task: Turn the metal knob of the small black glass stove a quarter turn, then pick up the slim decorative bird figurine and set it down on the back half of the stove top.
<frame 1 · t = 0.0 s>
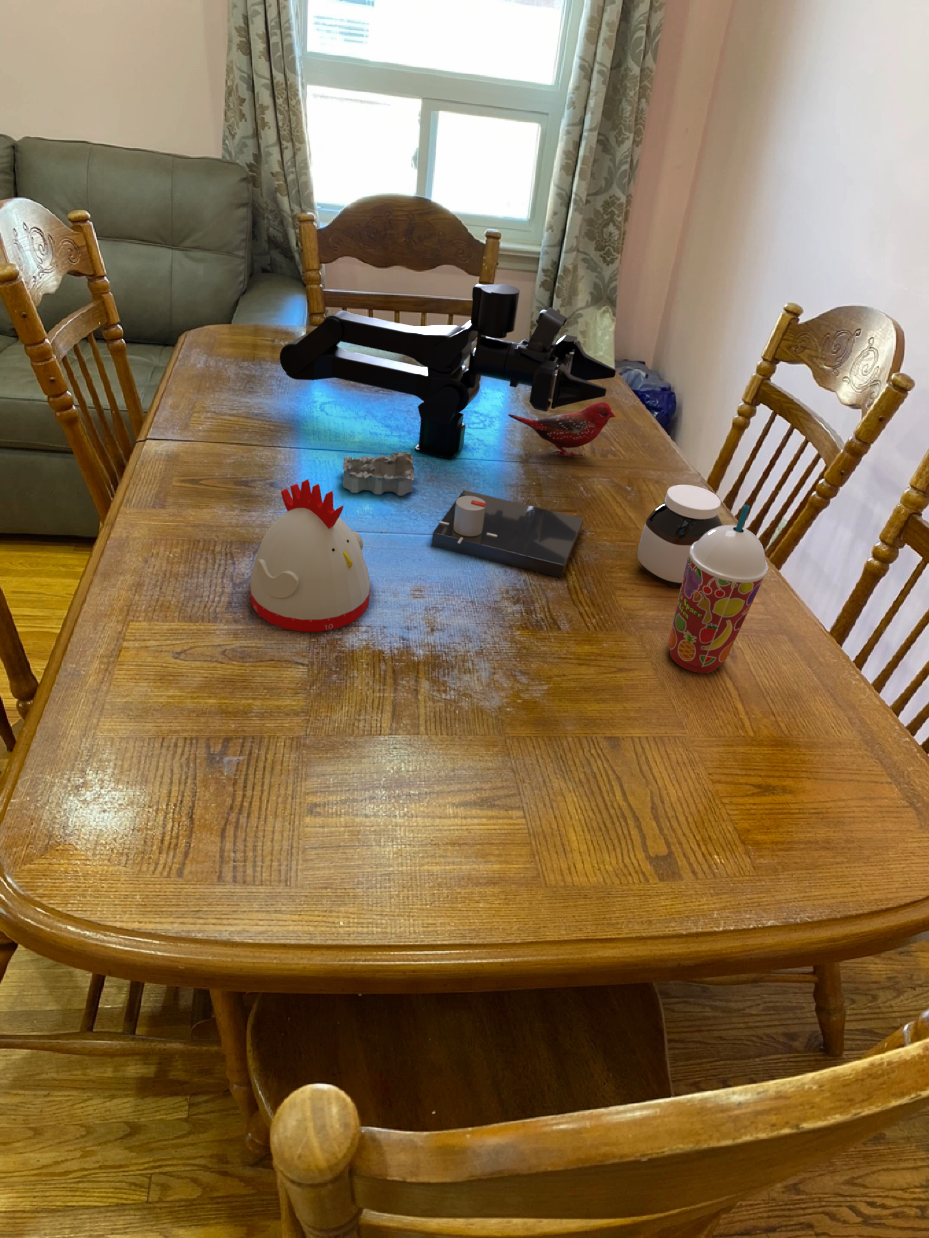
hand: (610, 382, 122), 17 cm above the table, tool horizontal, fingers open, 9 cm apart
smoothie: (693, 659, 96), on the table
kitchen timer: (310, 598, 98), on the table
spread jar: (667, 567, 113), on the table
decorative bird figurine: (554, 456, 139), on the table
stove: (508, 537, 114), on the table
stove knob: (469, 515, 110), point 4 cm above the table, hinge at 0.0°
egg carton: (377, 485, 123), on the table
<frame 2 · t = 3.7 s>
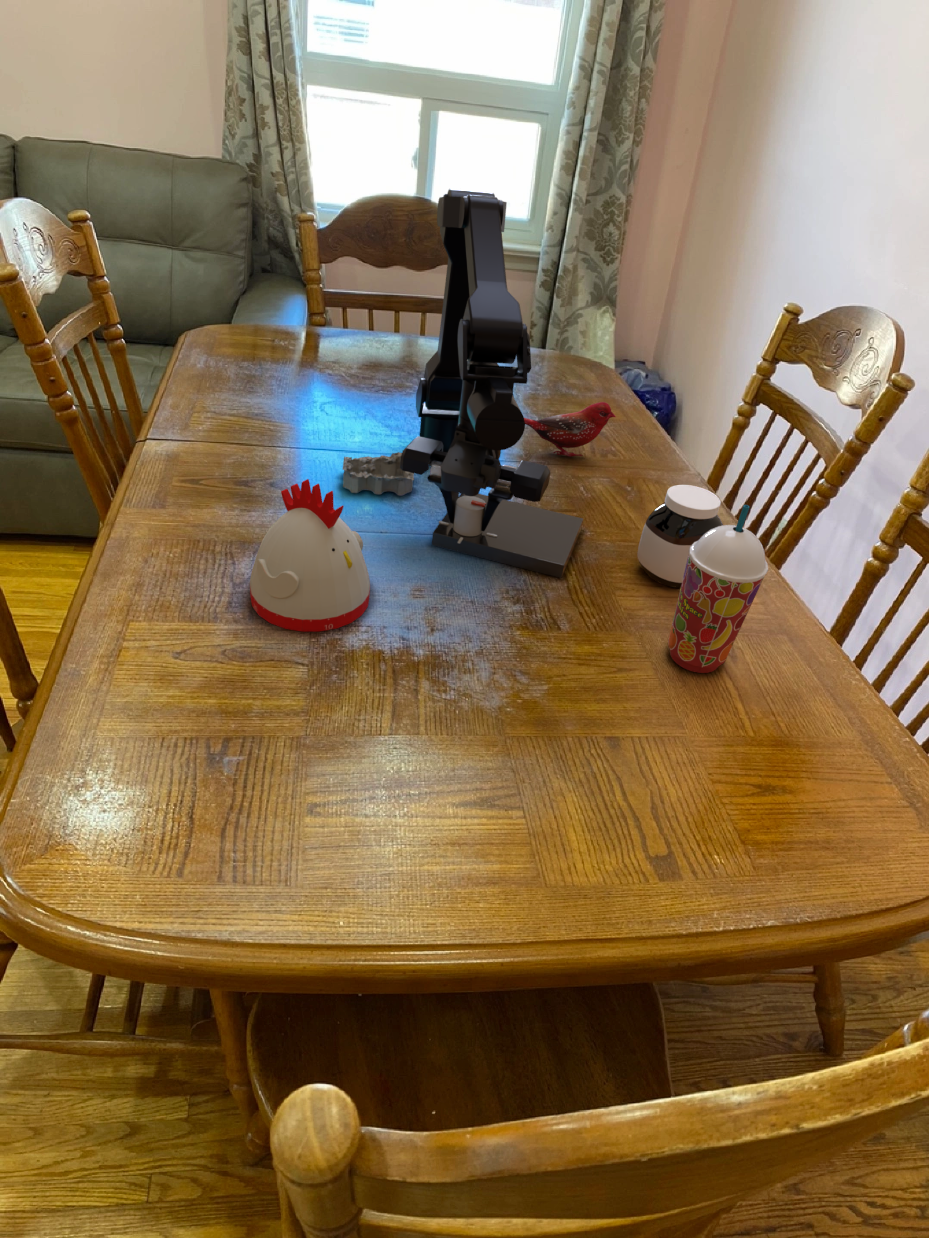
hand: (468, 526, 110), 3 cm above the table, tool pointing down, fingers closed on stove knob, 4 cm apart
stove knob: (469, 515, 110), point 4 cm above the table, hinge at 0.0°, touching gripper
everything else where it was.
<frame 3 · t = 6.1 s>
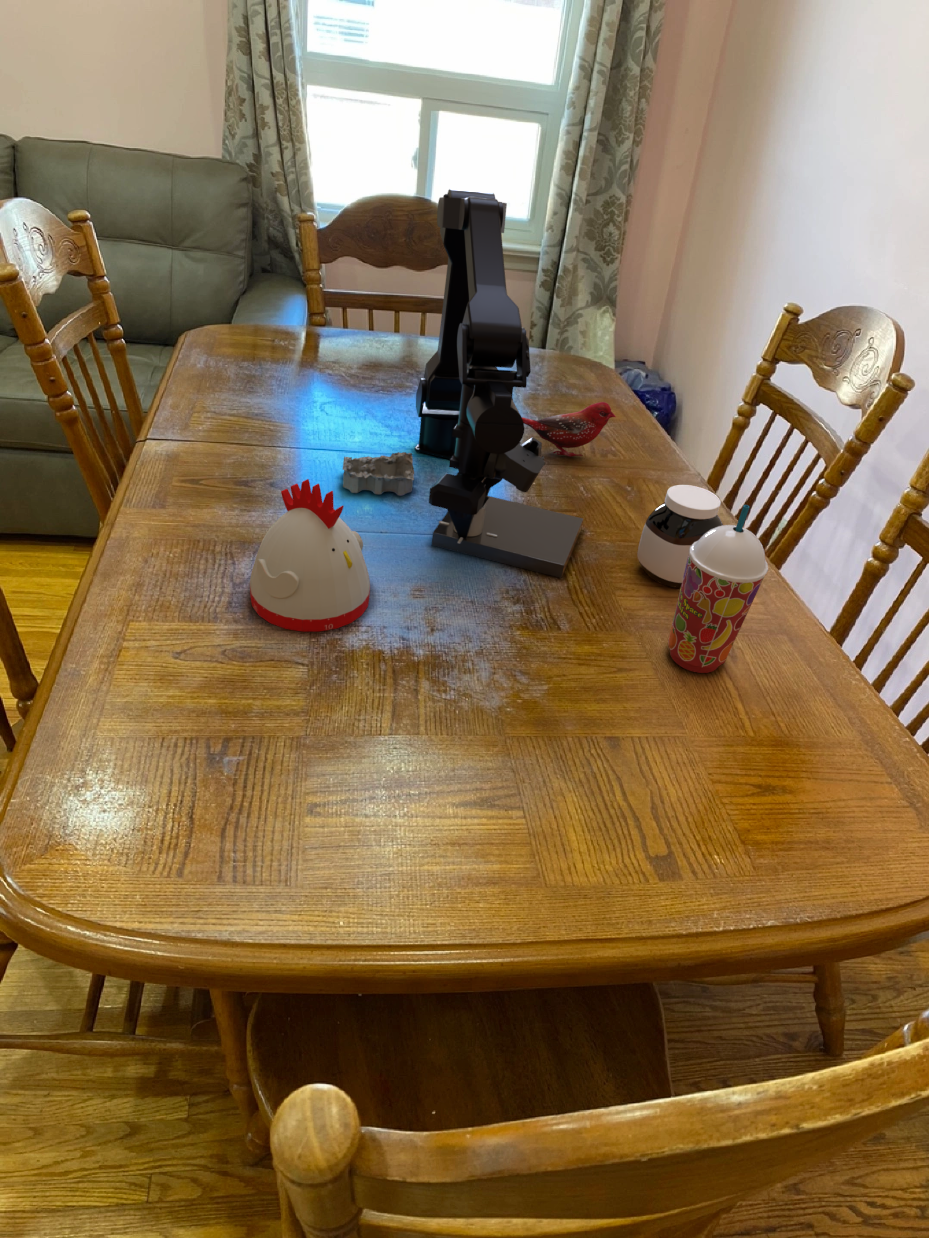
hand: (467, 529, 111), 2 cm above the table, tool pointing down, fingers open, 4 cm apart
stove knob: (469, 515, 110), point 4 cm above the table, hinge at 90.2°
everything else where it was.
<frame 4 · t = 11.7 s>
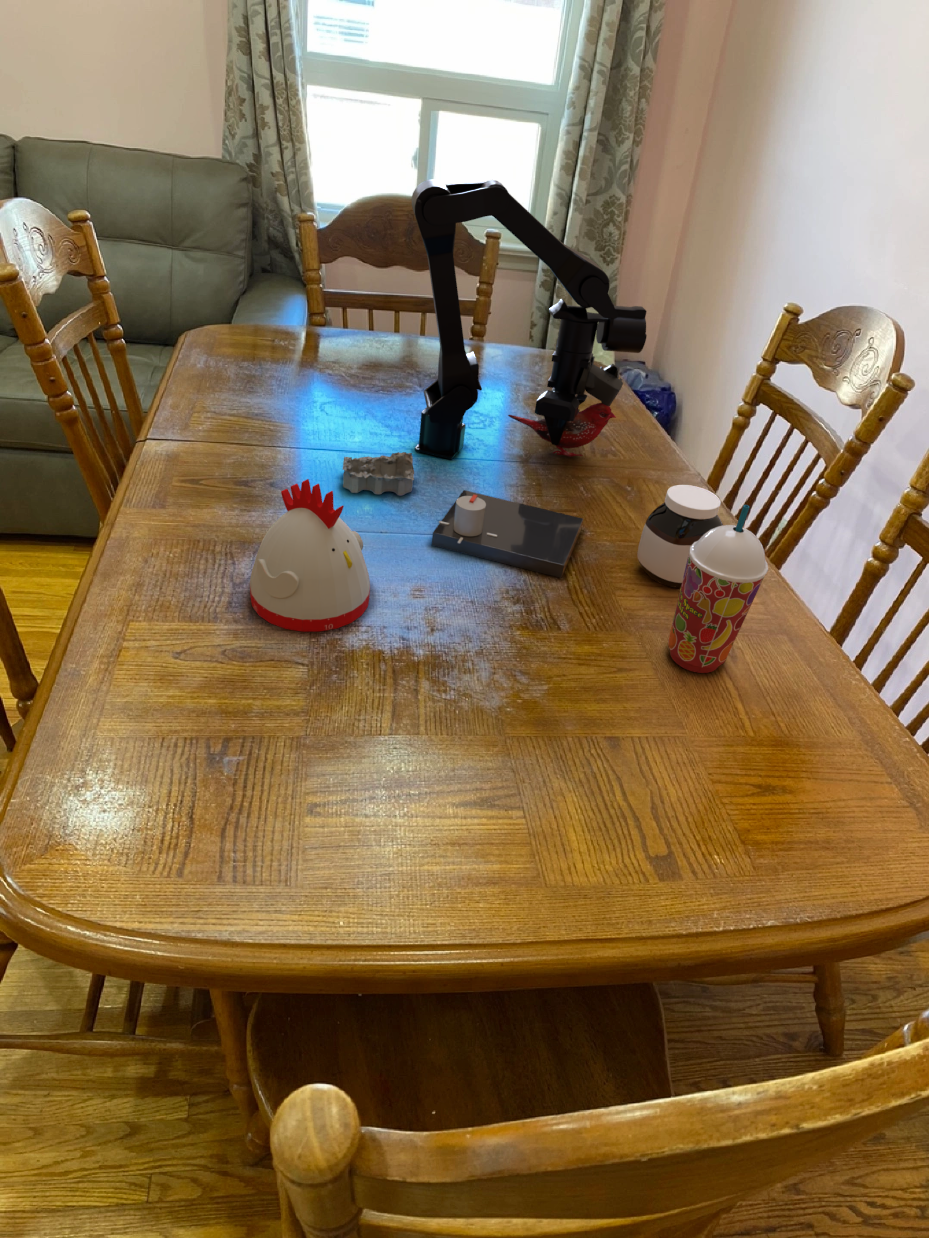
hand: (557, 441, 137), 3 cm above the table, tool pointing down, fingers closed on decorative bird figurine, 3 cm apart
decorative bird figurine: (554, 456, 139), on the table, touching gripper
everything else where it was.
when the fingers open (5 cm above the table, at t = 17.3 s): decorative bird figurine stays where it is, resting on stove.
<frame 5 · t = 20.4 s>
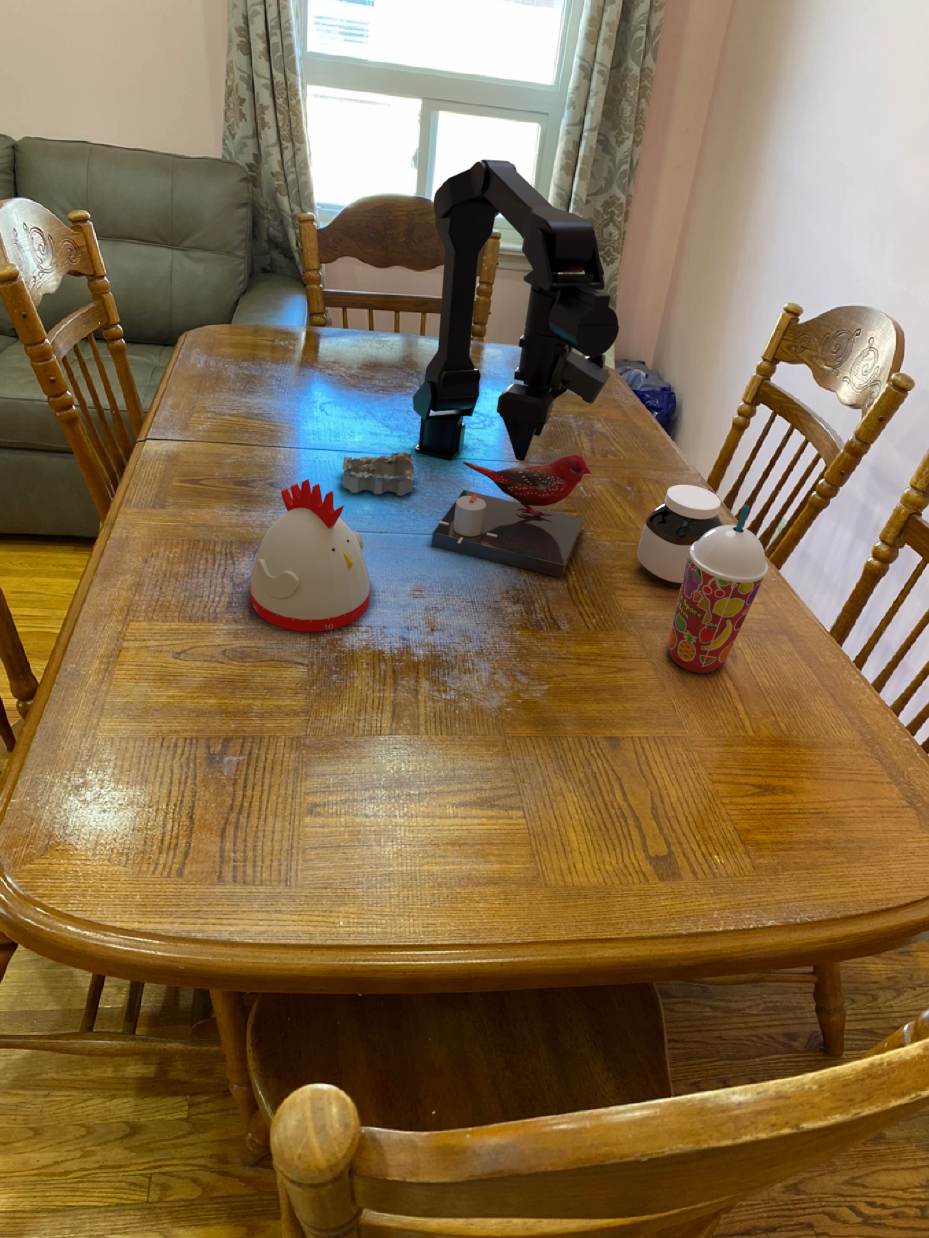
hand: (528, 447, 110), 12 cm above the table, tool pointing down, fingers open, 9 cm apart
decorative bird figurine: (518, 514, 116), point 2 cm above the table, touching stove
everything else where it was.
at the end: stove knob at +90° (first picture: +0°); decorative bird figurine inside the target area on the stove (0.2 cm from its centre), point 1.8 cm above the stove's base; decorative bird figurine tilted 0° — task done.
